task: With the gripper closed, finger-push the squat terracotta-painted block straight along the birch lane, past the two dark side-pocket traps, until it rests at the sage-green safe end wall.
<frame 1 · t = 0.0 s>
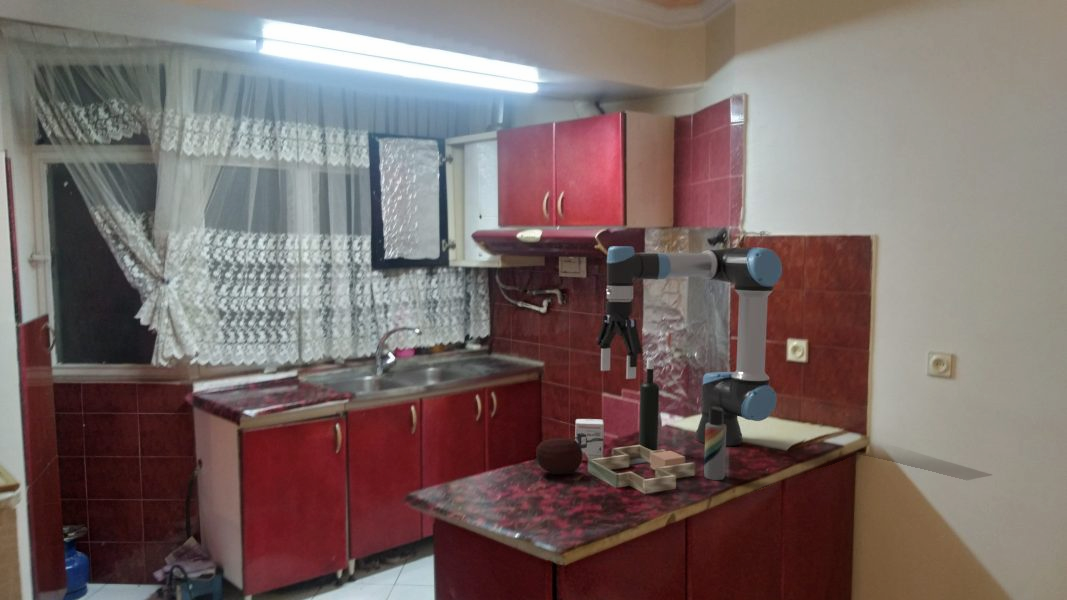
hand: (617, 374, 206), 28 cm above the table, fingers open, 13 cm apart
block: (667, 470, 209), on the table
ink box: (588, 459, 218), on the table
potato: (558, 474, 204), on the table
lotion bottle: (714, 477, 203), on the table
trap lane: (641, 473, 205), on the table
wine bottle: (648, 452, 227), on the table
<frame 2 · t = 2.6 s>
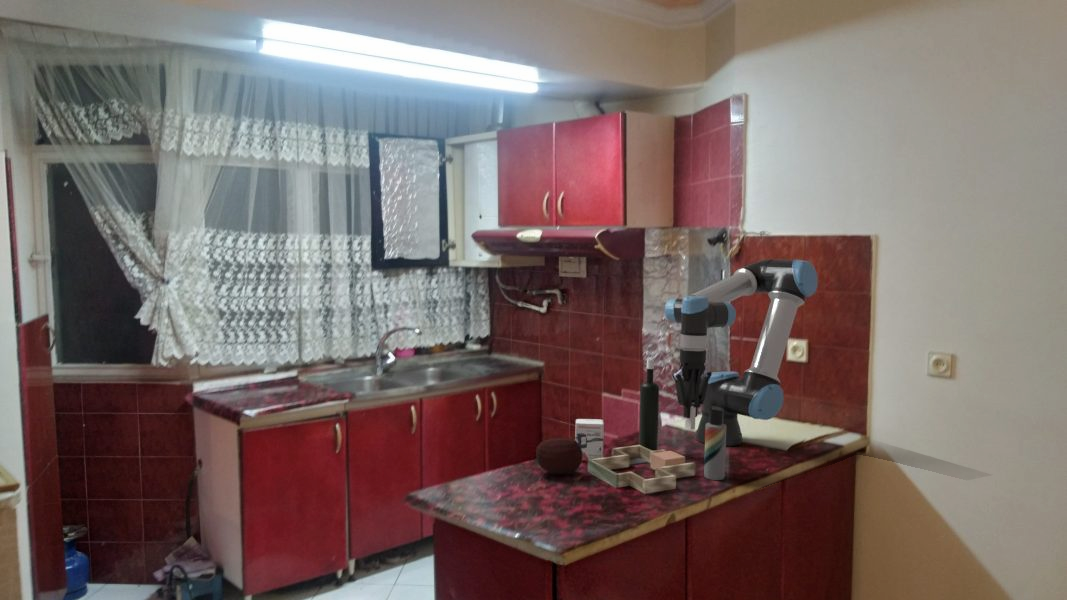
hand: (689, 428, 211), 11 cm above the table, fingers closed
nothing on the table moved.
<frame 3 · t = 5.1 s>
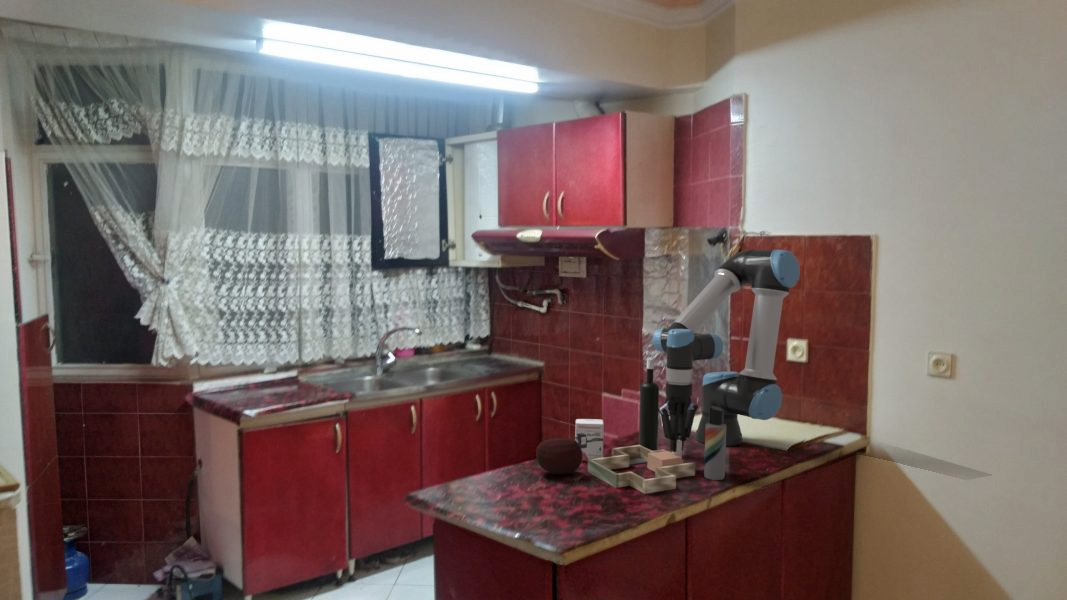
hand: (676, 461, 210), 2 cm above the table, fingers closed
block: (664, 470, 209), on the table, touching gripper
everything else where it was.
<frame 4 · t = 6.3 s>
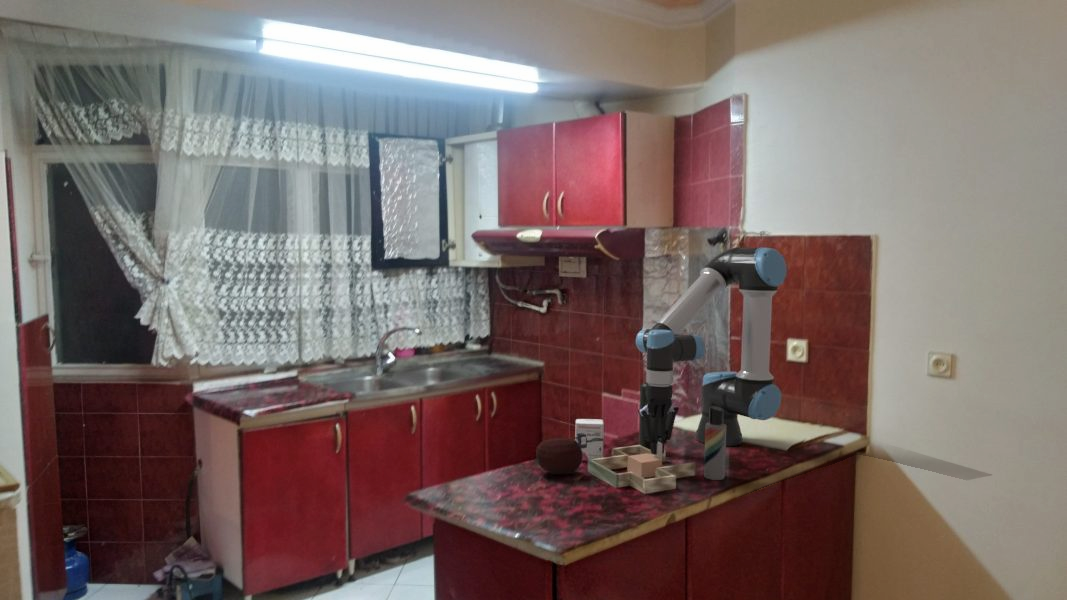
hand: (656, 464, 207), 2 cm above the table, fingers closed
block: (644, 473, 206), on the table, touching gripper
everything else where it was.
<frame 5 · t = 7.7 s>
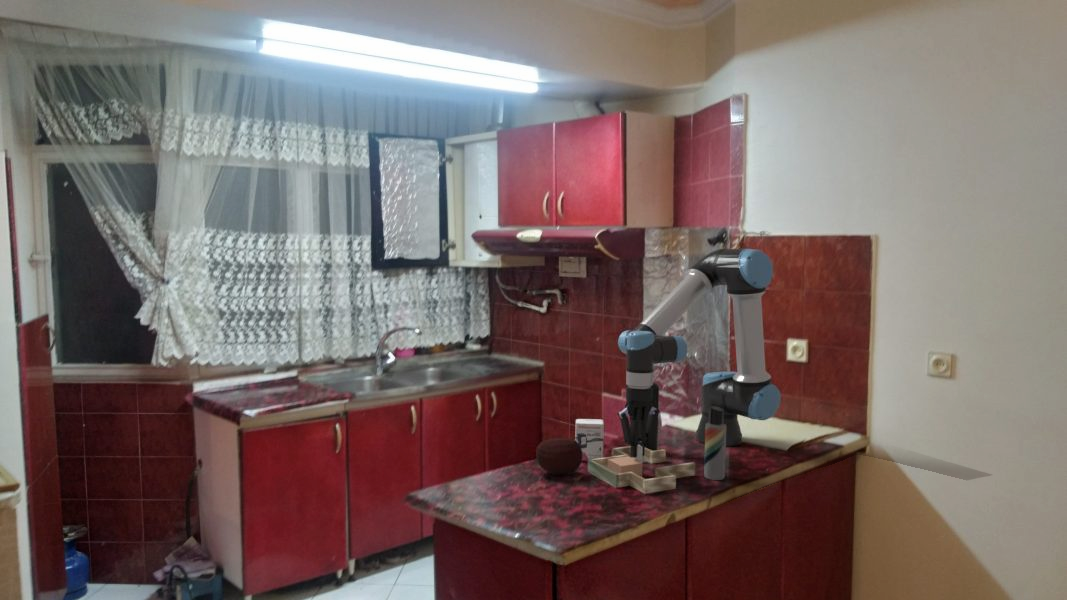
hand: (637, 467, 204), 2 cm above the table, fingers closed
block: (624, 476, 203), on the table, touching gripper
everything else where it was.
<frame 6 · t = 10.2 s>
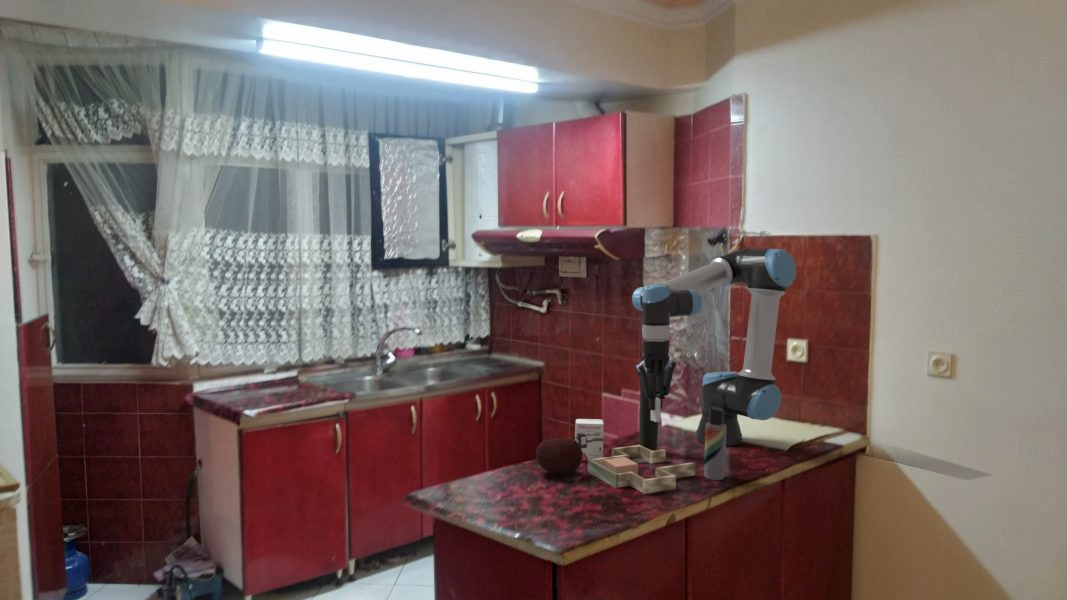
hand: (655, 420, 206), 15 cm above the table, fingers closed
block: (620, 477, 202), on the table
everything else where it was.
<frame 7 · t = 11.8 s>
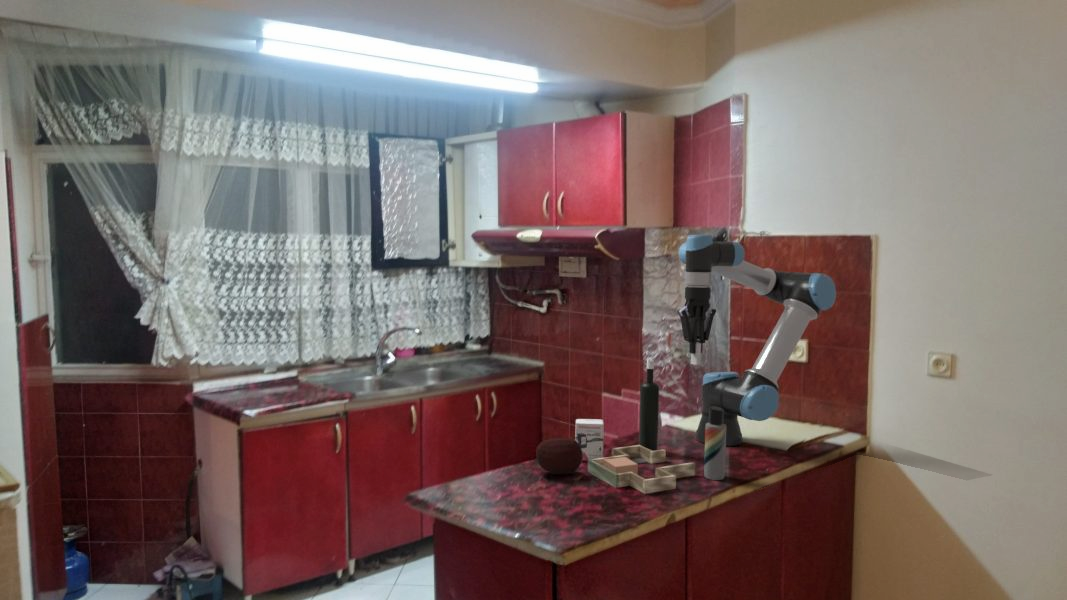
hand: (695, 364, 217), 29 cm above the table, fingers closed
nothing on the table moved.
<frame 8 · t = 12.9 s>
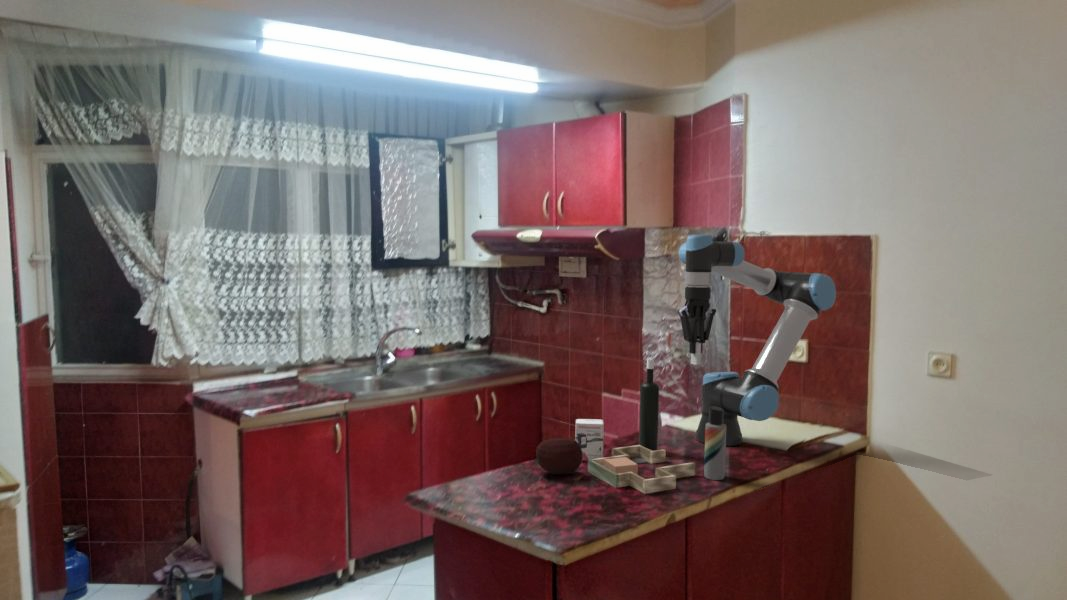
hand: (695, 364, 217), 29 cm above the table, fingers closed
nothing on the table moved.
at the end: block inside the target area (1.7 cm from its centre), on the table; block tilted 0°; block moved 16.3 cm from its start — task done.
